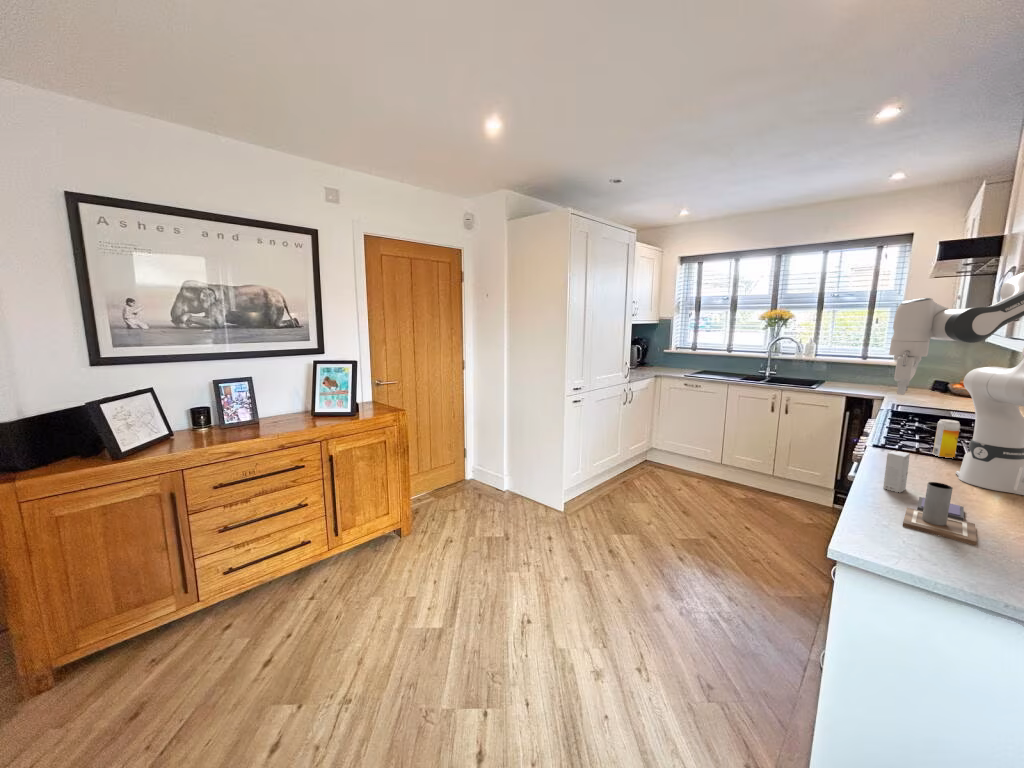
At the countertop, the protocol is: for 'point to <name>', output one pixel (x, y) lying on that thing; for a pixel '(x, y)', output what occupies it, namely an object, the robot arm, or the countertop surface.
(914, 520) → the marked board
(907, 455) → the skincare box
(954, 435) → the white and yellow box
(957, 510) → the ink pad
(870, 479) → the countertop surface
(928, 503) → the planter
